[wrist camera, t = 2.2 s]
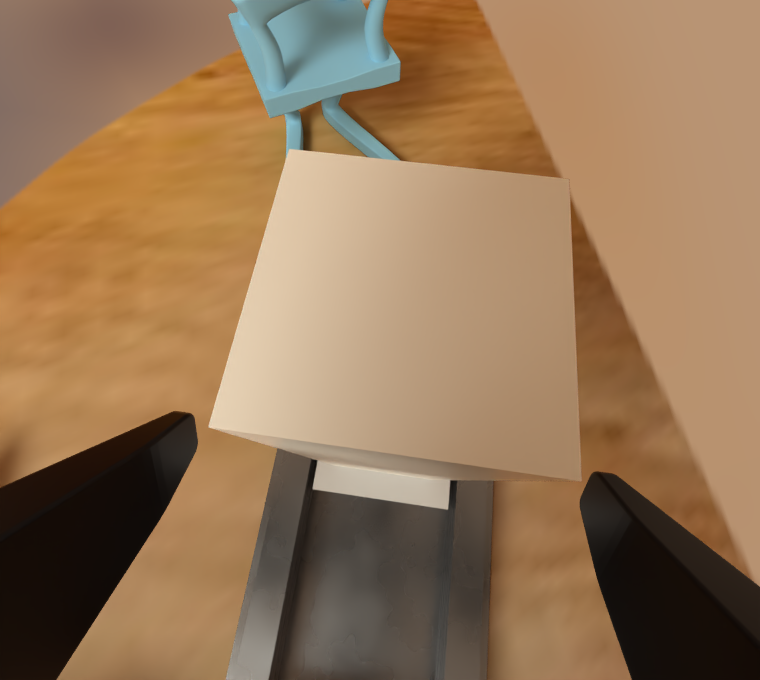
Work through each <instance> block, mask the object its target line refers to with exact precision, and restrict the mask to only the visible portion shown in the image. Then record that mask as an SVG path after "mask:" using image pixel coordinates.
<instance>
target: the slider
mask: <svg viewBox="0 0 760 680" xmlns="http://www.w3.org/2000/svg"><path fill="white" fill-rule="evenodd" d="M208 427H209V428H212V429H216V430H219V431H222V432H226V433H229V434H232V435H235V436H239V437H242V438H245V439H249V440H252V441H255V442H258V443H262V444H265V445H268V446H272V447H275V448H278V449H282V450H285V451H288V452H291V453H295V454H298V455H301V456H305V457H308V458H311V459H314V460H318V462H317V467H316V473H315V478H314V483H313V489H315V490H321V491H328V492H334V493H341V494H348V495H354V496H361V497H368V498H374V499H381V500H387V501H394V502H401V503H407V504H414V505H420V506H427V507H434V508H440V509H447V510H448V504H449V490H450V480H483V481H582V475H581V451H580V427H579V403H578V378H577V354H576V330H575V306H574V282H573V258H572V233H571V209H570V185H569V179H566V178H556V177H547V176H538V175H528V174H519V173H510V172H500V171H491V170H482V169H472V168H463V167H454V166H444V165H435V164H426V163H416V162H407V161H397V160H388V159H379V158H369V157H360V156H351V155H341V154H332V153H323V152H313V151H304V150H295V149H289V151H288V154H287V158H286V161H285V165H284V168H283V172H282V175H281V179H280V182H279V185H278V189H277V192H276V196H275V199H274V203H273V206H272V209H271V213H270V216H269V220H268V223H267V227H266V230H265V234H264V237H263V240H262V244H261V247H260V251H259V254H258V258H257V261H256V265H255V268H254V271H253V275H252V278H251V282H250V285H249V289H248V292H247V296H246V299H245V302H244V306H243V309H242V313H241V316H240V320H239V323H238V326H237V330H236V333H235V337H234V340H233V344H232V347H231V351H230V354H229V357H228V361H227V364H226V368H225V371H224V375H223V378H222V382H221V385H220V388H219V392H218V395H217V399H216V402H215V406H214V409H213V412H212V416H211V419H210V423H209V426H208Z"/></svg>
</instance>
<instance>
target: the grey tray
mask: <svg viewBox="0 0 760 680" xmlns="http://www.w3.org/2000/svg"><path fill="white" fill-rule="evenodd" d="M317 462H318V460H314V459H311V458H308V457H305V456H301V455H298V454H295V453H291V452H288V451H285V450H282V449H277V453H276V458H275V462H274V467H273V471H272V475H271V480H270V484H269V489H268V493H267V498H266V502H265V507H264V511H263V516H262V520H261V524H260V529H259V533H258V538H257V542H256V547H255V551H254V556H253V560H252V565H251V569H250V574H249V578H248V582H247V587H246V591H245V596H244V600H243V605H242V609H241V614H240V618H239V623H238V627H237V631H236V636H235V640H234V645H233V649H232V654H231V658H230V663H229V667H228V672H227V676H226V680H487V658H488V628H489V599H490V569H491V540H492V510H493V481H483V480H450V490H449V504H448V510H447V509H440V508H434V507H427V506H420V505H414V504H407V503H401V502H394V501H387V500H381V499H374V498H368V497H361V496H354V495H348V494H341V493H334V492H328V491H321V490H315V489H313V483H314V478H315V473H316V467H317Z"/></svg>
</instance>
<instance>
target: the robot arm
mask: <svg viewBox="0 0 760 680" xmlns="http://www.w3.org/2000/svg"><path fill="white" fill-rule="evenodd" d="M197 445H198V439H197V432H196V425H195V418H194V416H193V415H192V414H191V413H186V412H179V411H173V412H171V413H168V414H166V415H164V416H162V417H159V418H157V419H155V420H152V421H150V422H148V423H146V424H143V425H141V426H139V427H137V428H134V429H132V430H130V431H128V432H125V433H123V434H121V435H118V436H116V437H114V438H112V439H109V440H107V441H105V442H103V443H100V444H98V445H96V446H94V447H91V448H89V449H87V450H84V451H82V452H80V453H78V454H75V455H73V456H71V457H69V458H66V459H64V460H62V461H60V462H57V463H55V464H53V465H50V466H48V467H46V468H44V469H41V470H39V471H37V472H35V473H32V474H30V475H28V476H25V477H23V478H21V479H19V480H16V481H14V482H12V483H10V484H7V485H5V486H3V487H1V488H0V680H56V679H57V678H58V676H59V675H60V673H61V672H62V670H63V669H64V667H65V665H66V664H67V662H68V661H69V659H70V658H71V656H72V655H73V653H74V652H75V650H76V648H77V647H78V645H79V644H80V642H81V641H82V639H83V638H84V636H85V635H86V633H87V631H88V630H89V628H90V627H91V625H92V624H93V622H94V621H95V619H96V618H97V616H98V614H99V613H100V611H101V610H102V608H103V607H104V605H105V604H106V602H107V601H108V599H109V597H110V596H111V594H112V593H113V591H114V590H115V588H116V587H117V585H118V584H119V582H120V580H121V579H122V577H123V576H124V574H125V573H126V571H127V570H128V568H129V567H130V565H131V563H132V562H133V560H134V559H135V557H136V556H137V554H138V553H139V551H140V550H141V548H142V546H143V545H144V543H145V542H146V540H147V539H148V537H149V536H150V534H151V533H152V531H153V529H154V528H155V526H156V525H157V523H158V522H159V520H160V518H161V517H162V515H163V514H164V512H165V510H166V508H167V506H168V505H169V503H170V501H171V499H172V497H173V495H174V493H175V491H176V489H177V487H178V485H179V483H180V481H181V479H182V477H183V476H184V474H185V472H186V470H187V468H188V466H189V464H190V462H191V460H192V458H193V456H194V454H195V452H196V449H197ZM580 510H581V515H582V519H583V523H584V527H585V531H586V535H587V540H588V544H589V548H590V552H591V556H592V560H593V564H594V569H595V572H596V576H597V580H598V583H599V586H600V589H601V592H602V595H603V598H604V601H605V604H606V607H607V609H608V612H609V615H610V618H611V621H612V624H613V627H614V629H615V632H616V635H617V638H618V641H619V644H620V647H621V650H622V652H623V655H624V658H625V661H626V664H627V667H628V670H629V673H630V675H631V678H632V680H760V587H759V586H758V585H757V584H756V583H754V582H753V581H752V580H750V579H749V578H748V577H747V576H745V575H744V574H743V573H741V572H740V571H739V570H738V569H736V568H735V567H734V566H732V565H731V564H730V563H729V562H727V561H726V560H725V559H723V558H722V557H721V556H720V555H718V554H717V553H716V552H714V551H713V550H712V549H711V548H709V547H708V546H707V545H705V544H704V543H703V542H702V541H700V540H699V539H698V538H696V537H695V536H694V535H693V534H691V533H690V532H689V531H687V530H686V529H685V528H684V527H682V526H681V525H680V524H678V523H677V522H676V521H675V520H673V519H672V518H671V517H669V516H668V515H667V514H666V513H664V512H663V511H662V510H660V509H659V508H658V507H657V506H655V505H654V504H653V503H651V502H650V501H649V500H648V499H646V498H645V497H644V496H642V495H641V494H640V493H639V492H637V491H636V490H635V489H633V488H632V487H631V486H630V485H628V484H627V483H626V482H624V481H623V480H622V479H621V478H619V477H618V476H617V475H615V474H612V473H606V472H599V471H596V472H593V473H592V474H591V476H590V478H589V480H588V482H587V484H586V487H585V489H584V491H583V493H582V496H581V498H580Z"/></svg>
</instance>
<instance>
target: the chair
mask: <svg viewBox="0 0 760 680" xmlns="http://www.w3.org/2000/svg"><path fill="white" fill-rule="evenodd" d="M232 2H233V3H234V4H235V6H236V7H237V9H238V12H236V13H232V14H228V15H229V18H230V21H231V24H232V27H233V30H234V33H235V36H236V38H237V41H238V43H239V45H240V48H241V50H242V53H243V55H244V57H245V60H246V62H247V64H248V67H249V69H250V71H251V74H252V76H253V78H254V81H255V83H256V85H257V88H258V90H259V93H260V95H261V98H262V100H263V103H264V105H265V107H266V110H267V112H268V115H269V117H270V118H273V117H276V116H280V115H283V114H284V115H285V119H286V129H287V149H286V158H287V154H288V151H289V149H295V150H303V128H302V122H301V116H300V112H299V111H298V110H299V109H302V108H304V107H307V106H309V105H311V104H314V103H316V102H318V101H321V100H322V111H323V115H324V117H325V119H326V120H327V121H328V123H329V124H330V125H331V126H332V127H333V128H334V129H335V130H336V131H338V132H339V133H340V134H341V135H342V136H343V137H345V138H346V139H347V140H348V141H349V142H350V143H352V144H353V145H354V146H355V147H357V148H358V149H359V150H360V151H361V152H363V153H364V154H365V155H366V156H368V157H369V158H379V159H388V160H397V161H400V160H399V159H398V158H397V157H396V156H395V155H394V154H393V153H392V152H391V151H389V150H388V149H387V148H386V147H385V146H384V145H382V144H381V143H380V142H379V141H378V140H377V139H375V138H374V137H373V136H372V135H371V134H370V133H368V132H367V131H366V130H365V129H364V128H362V127H361V126H360V125H359V124H358V123H357V122H356V121H354V120H353V119H352V118H351V117H350V116H349V115H348V114H347V113H346V112H345V111H344V110H343V109H342V108H341V107H340V106H339V105H338V104H339V101H340V99H341V96H342V94H344V93H348V92H353V91H359V90H365V89H372V88H377V87H380V86H383V85H387V84H390V83H394V82H397V81H400V65H401V62H400V60H399V58H398V57H397V55H396V54H395V52H394V51H393V49H392V47H391V46H390V44H389V43H388V42H387V40H386V39H385V38H384V34H383V18H384V12H385V8H386V5H387V2H388V0H371V1H370V4H369V7H368V11H367V10H366V8H365V6H364V4H363V3H362V1H361V0H232Z"/></svg>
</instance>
